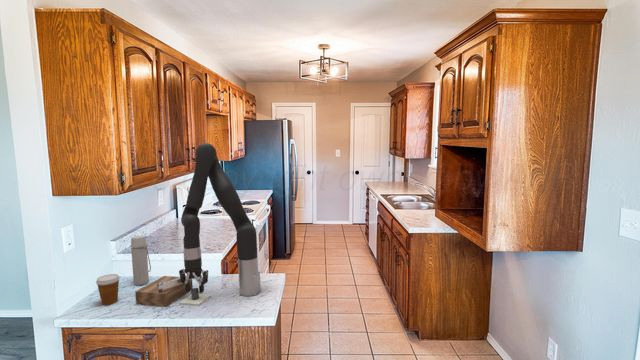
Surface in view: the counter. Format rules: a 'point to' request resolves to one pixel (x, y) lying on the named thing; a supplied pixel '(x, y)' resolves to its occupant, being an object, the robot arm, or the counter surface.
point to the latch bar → (168, 283)
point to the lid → (195, 298)
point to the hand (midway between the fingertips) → (194, 291)
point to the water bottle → (140, 260)
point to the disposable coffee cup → (108, 288)
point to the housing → (161, 293)
